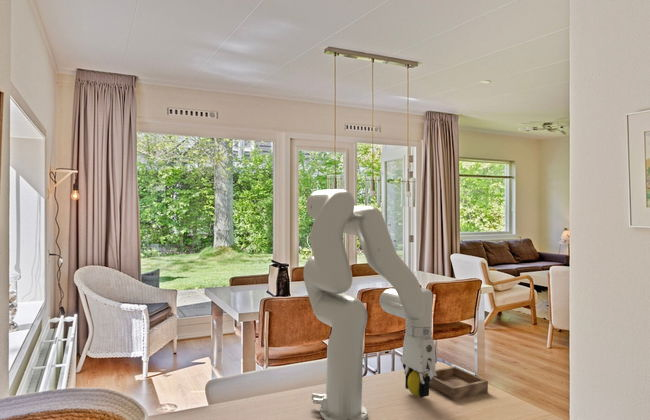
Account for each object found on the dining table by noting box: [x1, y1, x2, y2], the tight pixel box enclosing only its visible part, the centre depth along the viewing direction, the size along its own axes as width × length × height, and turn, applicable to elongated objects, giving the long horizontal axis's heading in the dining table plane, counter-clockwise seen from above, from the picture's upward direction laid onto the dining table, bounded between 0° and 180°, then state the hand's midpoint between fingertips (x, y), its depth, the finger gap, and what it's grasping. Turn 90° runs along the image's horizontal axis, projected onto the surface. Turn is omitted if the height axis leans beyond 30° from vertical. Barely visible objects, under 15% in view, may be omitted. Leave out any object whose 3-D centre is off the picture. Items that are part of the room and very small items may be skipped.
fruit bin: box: [424, 366, 489, 401], centre depth 139 cm, size 14×14×4 cm
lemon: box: [408, 371, 425, 398], centre depth 131 cm, size 6×6×8 cm
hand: (416, 391), depth 131 cm, fingers closed on lemon, 5 cm apart
